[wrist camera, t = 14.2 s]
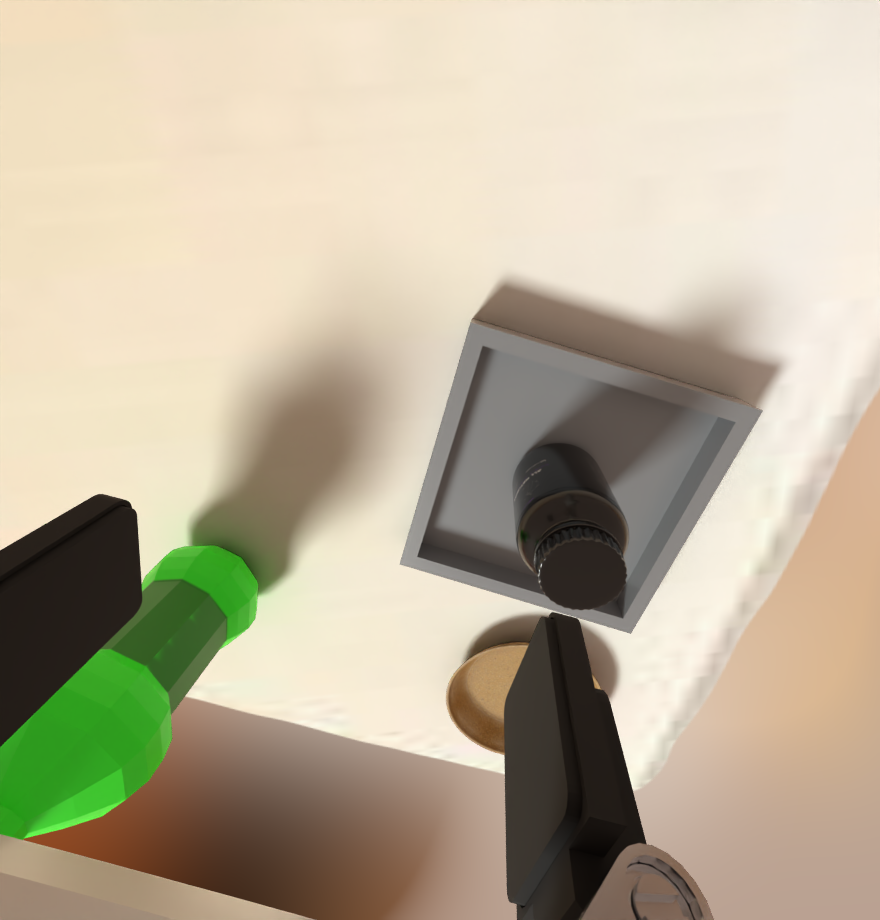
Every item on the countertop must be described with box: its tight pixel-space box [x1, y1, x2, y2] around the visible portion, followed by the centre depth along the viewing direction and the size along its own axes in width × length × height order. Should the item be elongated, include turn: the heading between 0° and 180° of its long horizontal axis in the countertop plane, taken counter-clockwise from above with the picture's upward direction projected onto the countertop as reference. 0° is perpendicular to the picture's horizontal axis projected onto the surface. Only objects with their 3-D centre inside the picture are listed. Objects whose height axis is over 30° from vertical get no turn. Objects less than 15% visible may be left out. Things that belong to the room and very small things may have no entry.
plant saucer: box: [446, 642, 601, 755], centre depth 44 cm, size 15×15×3 cm
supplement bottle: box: [512, 443, 629, 610], centre depth 30 cm, size 7×7×12 cm
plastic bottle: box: [0, 545, 258, 840], centre depth 32 cm, size 10×10×25 cm
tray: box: [400, 319, 762, 634], centre depth 35 cm, size 20×20×3 cm
